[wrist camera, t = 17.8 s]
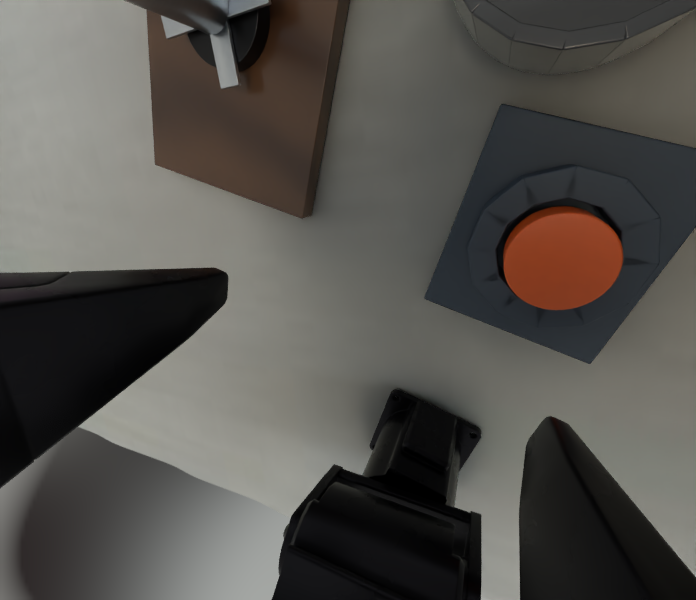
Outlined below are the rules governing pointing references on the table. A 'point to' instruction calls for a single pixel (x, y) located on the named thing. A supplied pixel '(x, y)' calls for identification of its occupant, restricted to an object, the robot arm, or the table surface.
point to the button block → (565, 190)
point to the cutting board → (251, 107)
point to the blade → (217, 31)
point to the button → (561, 258)
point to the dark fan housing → (566, 30)
